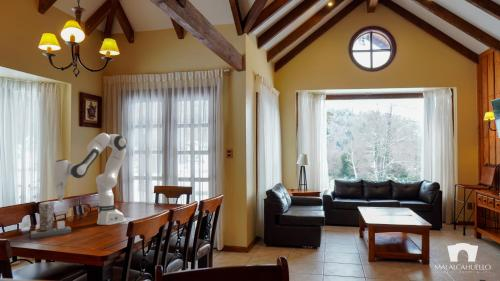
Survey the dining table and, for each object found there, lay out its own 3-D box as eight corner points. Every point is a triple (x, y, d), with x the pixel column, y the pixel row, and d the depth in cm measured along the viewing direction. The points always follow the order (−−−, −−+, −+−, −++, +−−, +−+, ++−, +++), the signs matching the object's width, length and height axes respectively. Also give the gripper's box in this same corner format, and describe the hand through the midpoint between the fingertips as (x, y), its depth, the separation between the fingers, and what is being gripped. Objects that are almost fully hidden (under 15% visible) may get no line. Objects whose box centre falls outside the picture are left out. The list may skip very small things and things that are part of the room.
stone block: (49, 230, 257) (49, 203, 258) (38, 231, 256) (38, 204, 256) (54, 226, 270) (54, 200, 270) (44, 227, 269) (44, 201, 269)
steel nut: (64, 231, 254) (63, 220, 254) (64, 233, 250) (64, 221, 250) (56, 232, 251) (56, 221, 251) (57, 234, 247) (57, 222, 248)
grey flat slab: (69, 230, 258) (69, 225, 258) (71, 232, 250) (71, 228, 250) (30, 235, 244) (30, 230, 244) (31, 238, 236) (31, 233, 236)
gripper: (67, 182, 245) (67, 202, 245) (63, 180, 262) (63, 199, 262) (57, 183, 242) (56, 203, 241) (54, 181, 259) (53, 200, 258)
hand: (60, 201), depth 252 cm, fingers open, 8 cm apart
